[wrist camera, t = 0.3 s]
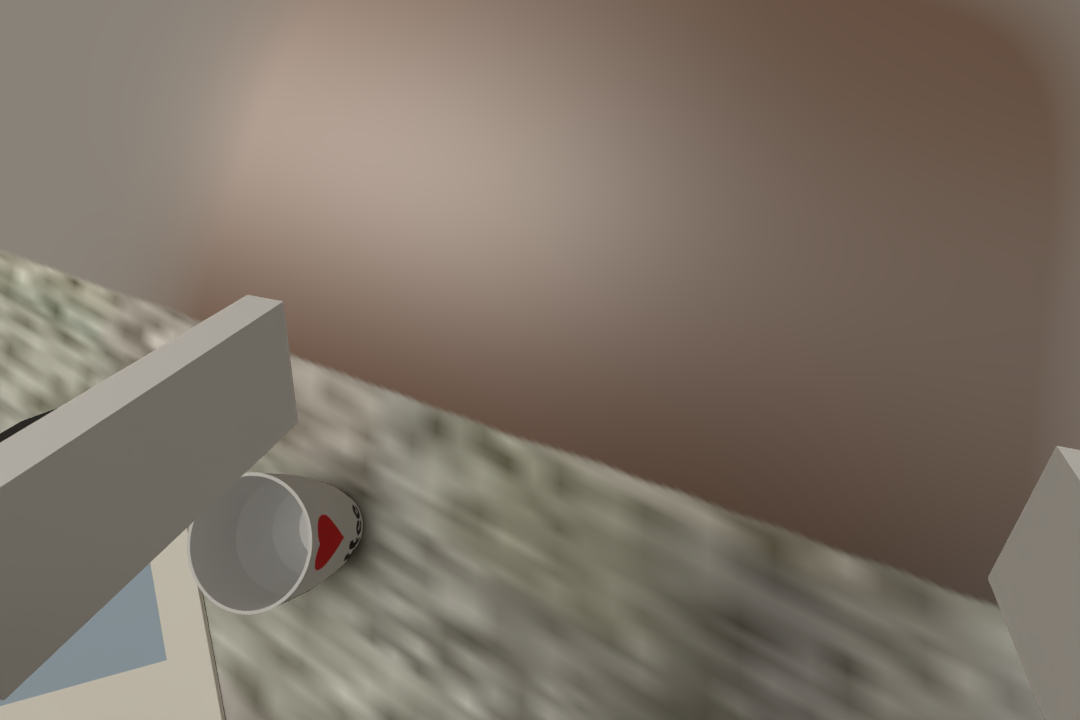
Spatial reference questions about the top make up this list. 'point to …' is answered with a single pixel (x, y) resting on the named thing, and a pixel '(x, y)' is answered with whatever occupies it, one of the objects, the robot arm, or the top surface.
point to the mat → (132, 656)
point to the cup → (271, 540)
